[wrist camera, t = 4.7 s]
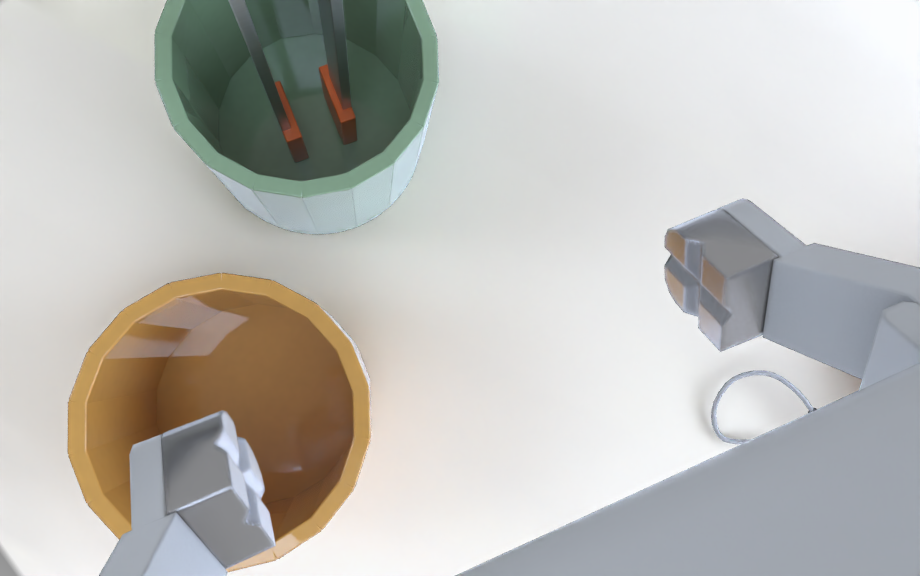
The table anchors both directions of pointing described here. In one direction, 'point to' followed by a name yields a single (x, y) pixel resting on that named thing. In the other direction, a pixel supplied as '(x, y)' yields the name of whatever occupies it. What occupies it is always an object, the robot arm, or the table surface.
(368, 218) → the green crock
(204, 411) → the ochre crock
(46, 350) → the table surface
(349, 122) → the tongs
